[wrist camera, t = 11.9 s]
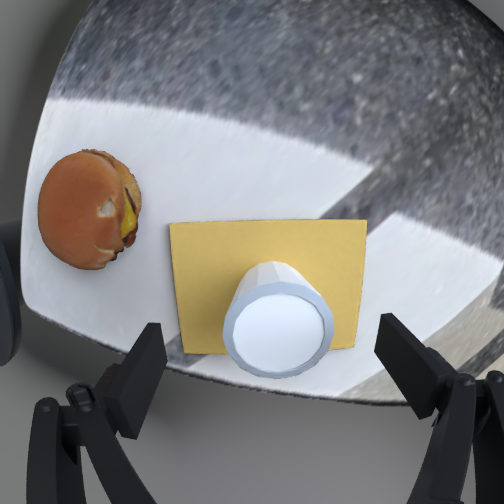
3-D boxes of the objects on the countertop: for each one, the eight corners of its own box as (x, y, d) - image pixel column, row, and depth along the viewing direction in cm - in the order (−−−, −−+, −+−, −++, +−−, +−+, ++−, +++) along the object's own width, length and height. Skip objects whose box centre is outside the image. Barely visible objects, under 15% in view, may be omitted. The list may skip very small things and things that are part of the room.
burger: (47, 182, 21) (16, 184, 16) (121, 133, 20) (94, 124, 16) (81, 275, 23) (54, 292, 19) (161, 239, 22) (140, 253, 18)
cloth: (185, 351, 25) (184, 353, 24) (170, 223, 22) (169, 223, 22) (352, 345, 25) (353, 347, 24) (365, 219, 22) (367, 220, 22)
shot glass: (218, 314, 23) (207, 361, 17) (248, 240, 22) (246, 264, 15) (292, 339, 24) (304, 390, 17) (326, 271, 23) (354, 304, 16)
